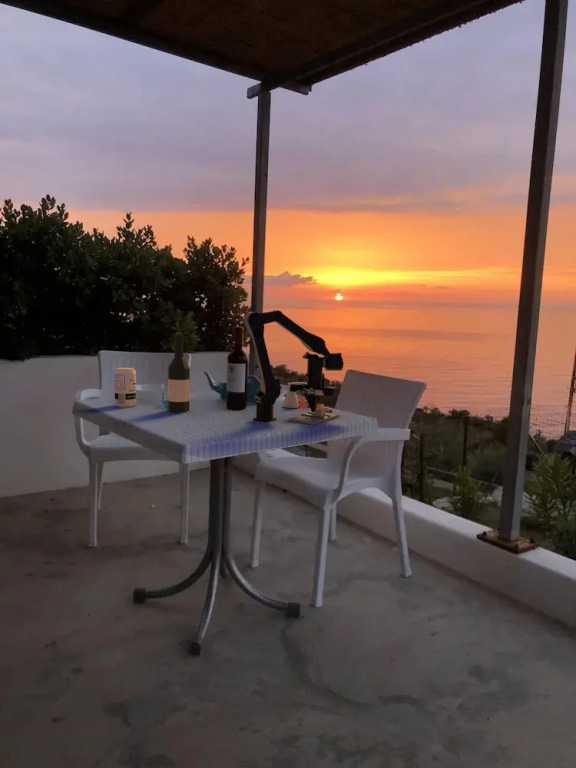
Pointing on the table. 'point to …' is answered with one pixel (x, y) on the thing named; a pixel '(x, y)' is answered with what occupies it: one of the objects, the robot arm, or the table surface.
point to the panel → (313, 418)
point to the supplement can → (125, 387)
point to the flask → (290, 399)
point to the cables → (327, 410)
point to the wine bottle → (178, 379)
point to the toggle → (320, 410)
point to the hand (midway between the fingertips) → (313, 412)
